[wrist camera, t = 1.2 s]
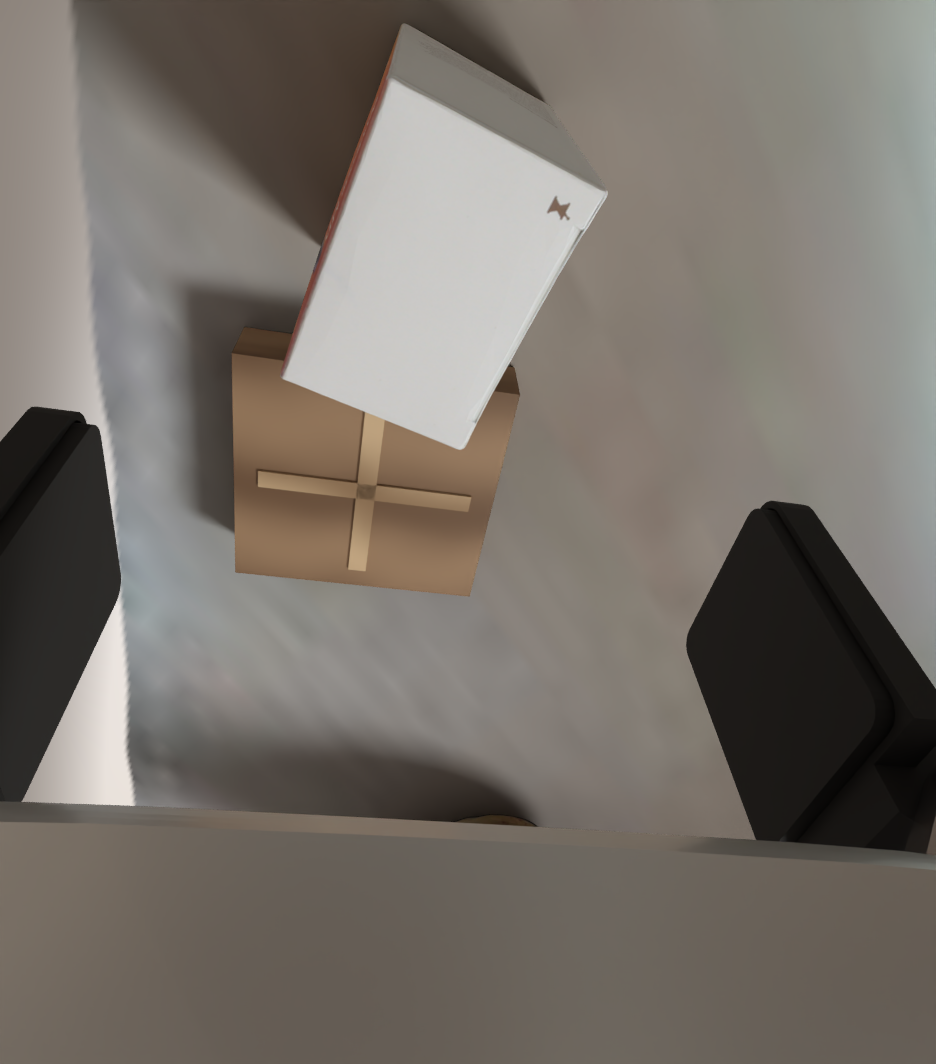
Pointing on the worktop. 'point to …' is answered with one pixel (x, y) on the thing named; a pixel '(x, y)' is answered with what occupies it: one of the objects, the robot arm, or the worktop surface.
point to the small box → (440, 243)
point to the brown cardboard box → (355, 483)
